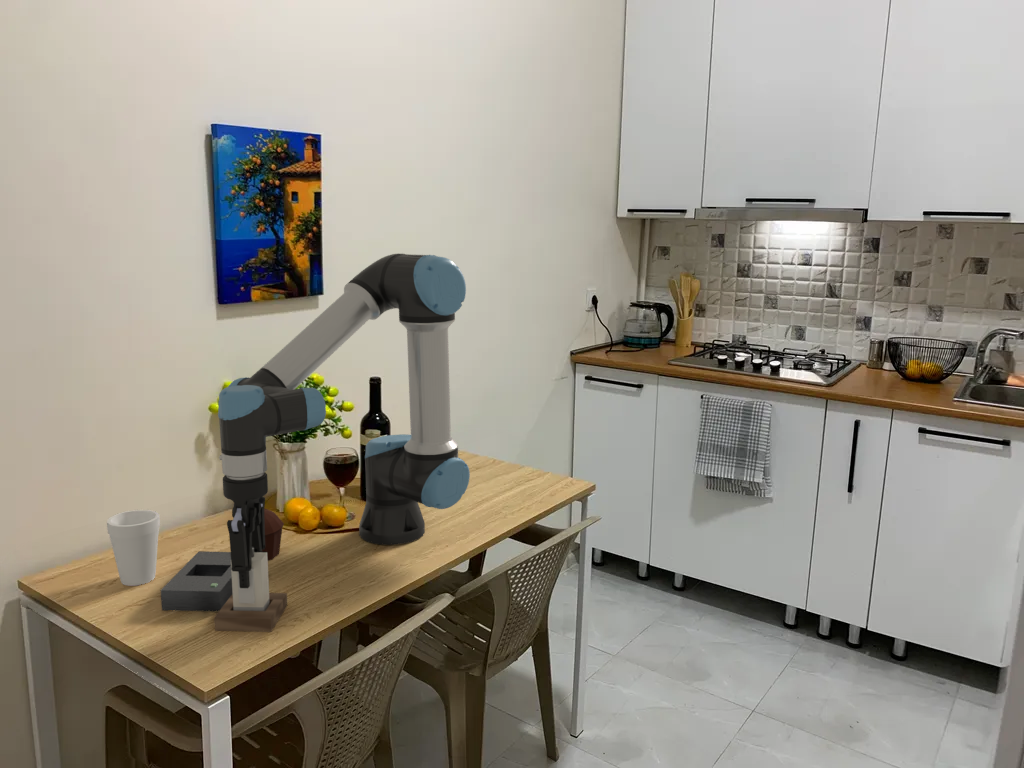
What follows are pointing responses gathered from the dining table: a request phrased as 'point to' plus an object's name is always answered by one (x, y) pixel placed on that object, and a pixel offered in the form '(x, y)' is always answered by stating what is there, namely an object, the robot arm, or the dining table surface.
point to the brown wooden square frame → (251, 616)
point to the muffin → (272, 534)
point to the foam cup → (135, 545)
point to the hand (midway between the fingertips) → (251, 596)
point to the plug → (260, 585)
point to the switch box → (200, 584)
